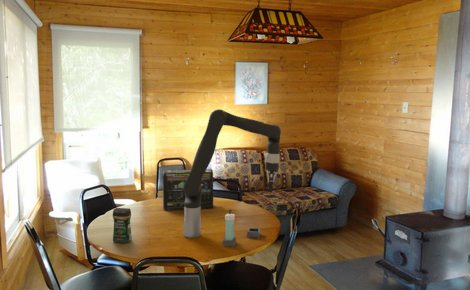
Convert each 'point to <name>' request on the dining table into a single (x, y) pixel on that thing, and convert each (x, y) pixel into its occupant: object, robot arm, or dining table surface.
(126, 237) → the coffee jar
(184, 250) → the dining table surface
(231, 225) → the plug
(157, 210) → the dining table surface
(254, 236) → the tray
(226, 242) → the holster
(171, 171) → the router box
